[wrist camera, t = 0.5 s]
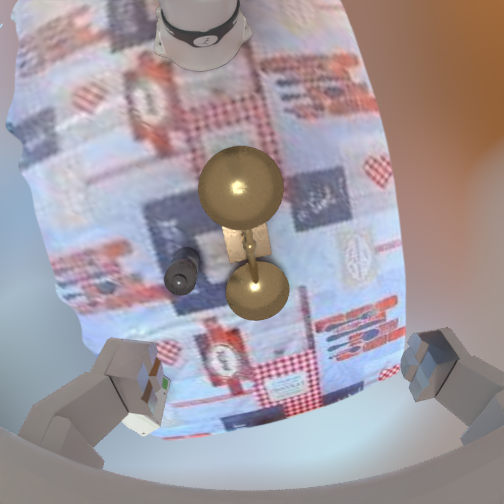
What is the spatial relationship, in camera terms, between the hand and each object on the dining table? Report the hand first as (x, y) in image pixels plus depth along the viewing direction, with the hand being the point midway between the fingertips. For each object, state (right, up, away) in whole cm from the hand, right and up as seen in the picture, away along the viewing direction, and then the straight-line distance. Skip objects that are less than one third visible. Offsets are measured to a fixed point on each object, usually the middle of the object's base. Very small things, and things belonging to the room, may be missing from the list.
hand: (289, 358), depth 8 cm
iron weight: (-14, +2, +46) cm, 48 cm away
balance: (-2, +6, +46) cm, 47 cm away
